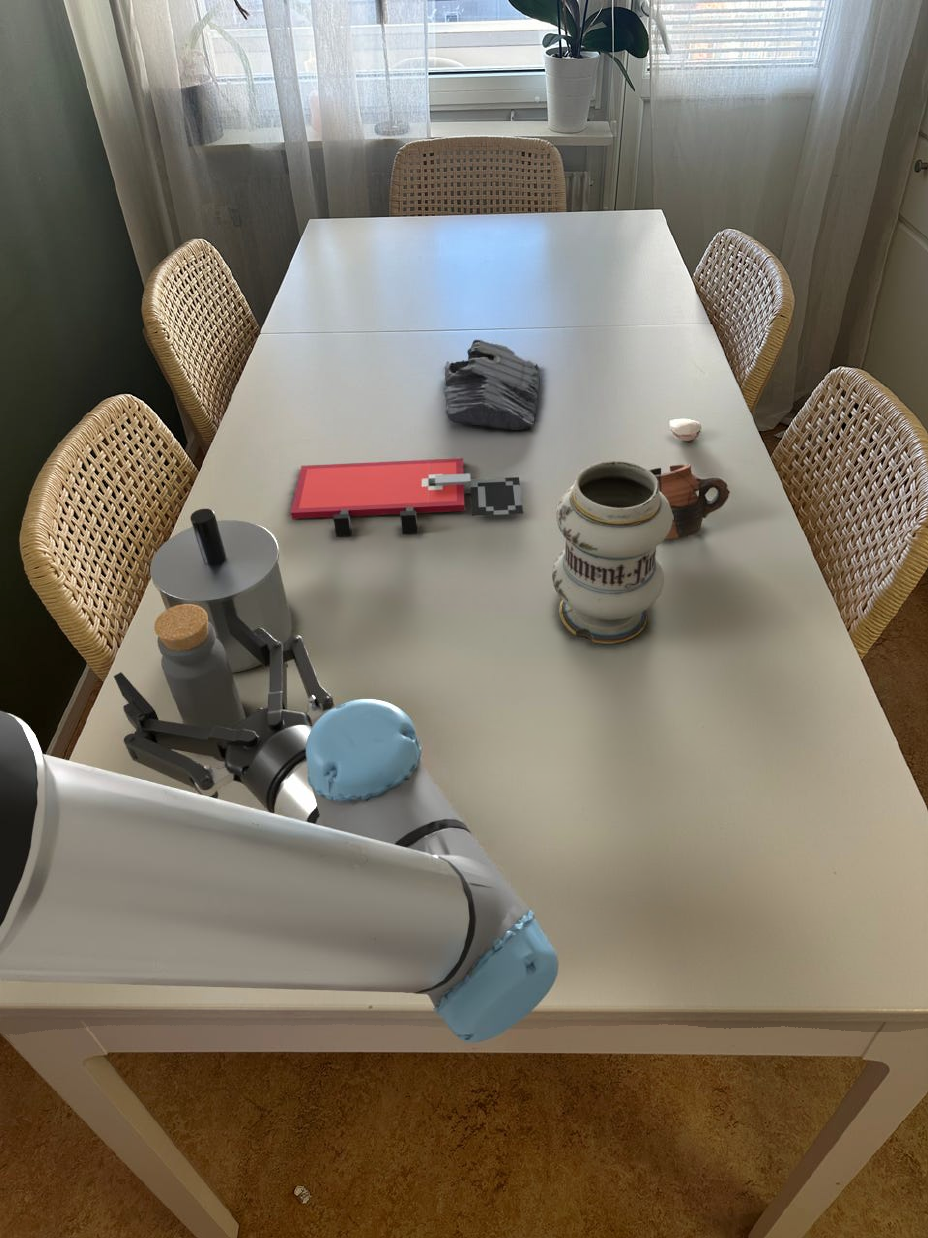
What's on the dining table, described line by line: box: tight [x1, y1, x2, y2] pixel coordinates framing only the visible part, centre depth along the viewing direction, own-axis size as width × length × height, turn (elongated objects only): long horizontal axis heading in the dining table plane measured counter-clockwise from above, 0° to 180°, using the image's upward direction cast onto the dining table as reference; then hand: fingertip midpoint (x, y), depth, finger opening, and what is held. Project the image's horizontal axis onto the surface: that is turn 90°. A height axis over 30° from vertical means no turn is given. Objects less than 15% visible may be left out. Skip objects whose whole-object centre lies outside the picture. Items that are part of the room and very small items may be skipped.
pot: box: [159, 562, 293, 674], centre depth 94 cm, size 12×12×10 cm
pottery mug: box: [648, 463, 731, 541], centre depth 110 cm, size 12×10×8 cm
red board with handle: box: [290, 457, 524, 538], centre depth 115 cm, size 30×3×15 cm
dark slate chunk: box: [444, 339, 540, 431], centre depth 133 cm, size 15×22×5 cm
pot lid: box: [149, 508, 280, 604], centre depth 89 cm, size 13×13×7 cm
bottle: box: [153, 604, 247, 744], centre depth 83 cm, size 6×6×15 cm
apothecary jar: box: [551, 460, 673, 645], centre depth 92 cm, size 12×12×18 cm
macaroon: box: [669, 418, 702, 442], centre depth 124 cm, size 4×5×2 cm
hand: (177, 652), depth 84 cm, fingers open, 11 cm apart
